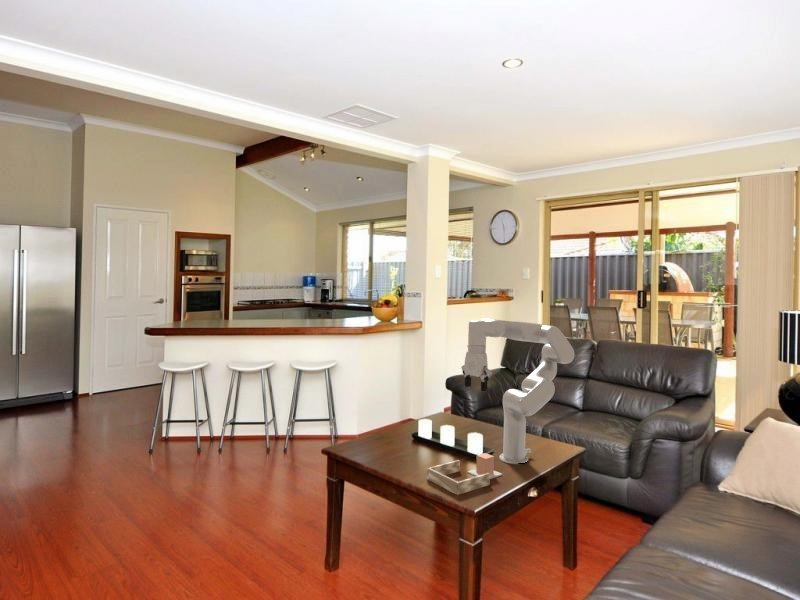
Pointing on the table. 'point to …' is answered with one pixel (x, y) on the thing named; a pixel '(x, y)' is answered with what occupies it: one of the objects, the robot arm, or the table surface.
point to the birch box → (439, 478)
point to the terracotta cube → (485, 463)
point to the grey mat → (472, 472)
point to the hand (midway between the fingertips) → (475, 388)
